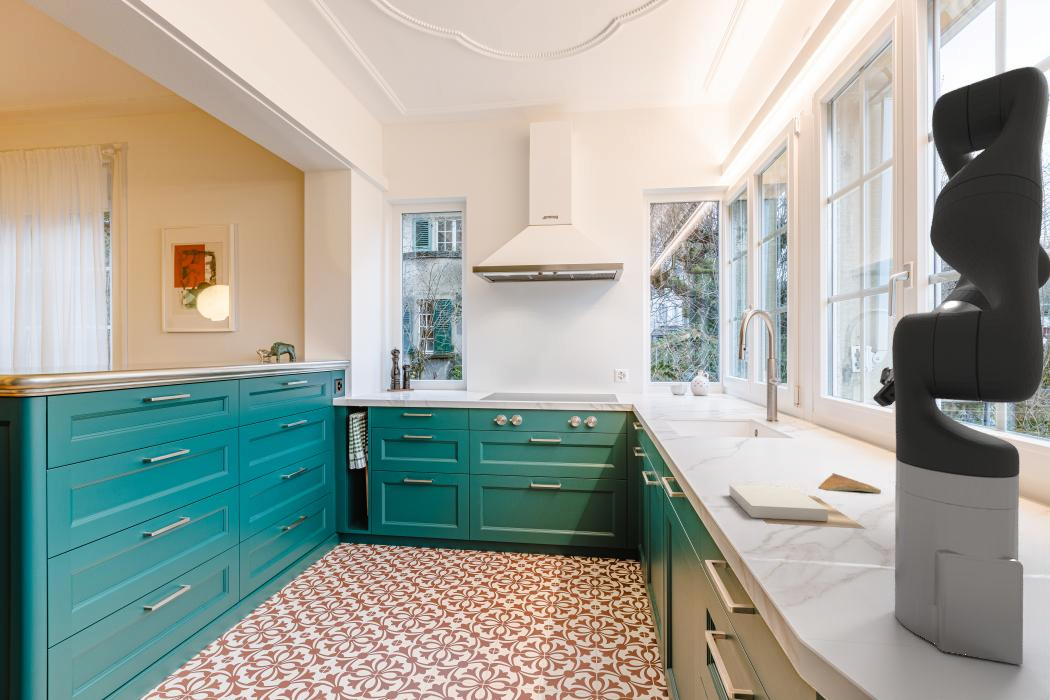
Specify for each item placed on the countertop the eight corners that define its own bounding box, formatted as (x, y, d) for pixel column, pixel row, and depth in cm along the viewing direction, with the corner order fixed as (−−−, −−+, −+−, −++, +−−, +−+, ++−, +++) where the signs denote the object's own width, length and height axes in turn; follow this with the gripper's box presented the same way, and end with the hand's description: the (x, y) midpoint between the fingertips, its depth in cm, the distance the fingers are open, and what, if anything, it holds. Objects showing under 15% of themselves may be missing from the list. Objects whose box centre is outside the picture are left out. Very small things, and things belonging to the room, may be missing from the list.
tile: (827, 509, 75) (752, 505, 76) (827, 521, 75) (752, 517, 76) (794, 487, 87) (729, 484, 88) (794, 498, 87) (729, 495, 88)
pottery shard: (818, 493, 92) (819, 481, 92) (817, 481, 100) (817, 470, 100) (883, 502, 87) (883, 489, 87) (876, 489, 95) (876, 477, 95)
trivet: (865, 530, 72) (865, 528, 72) (766, 525, 74) (766, 522, 74) (814, 497, 88) (814, 495, 88) (734, 494, 90) (734, 492, 90)
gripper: (898, 330, 83) (838, 393, 81) (958, 304, 71) (888, 377, 69) (934, 358, 81) (874, 423, 79) (1003, 336, 69) (932, 413, 67)
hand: (880, 402), depth 74 cm, fingers closed
